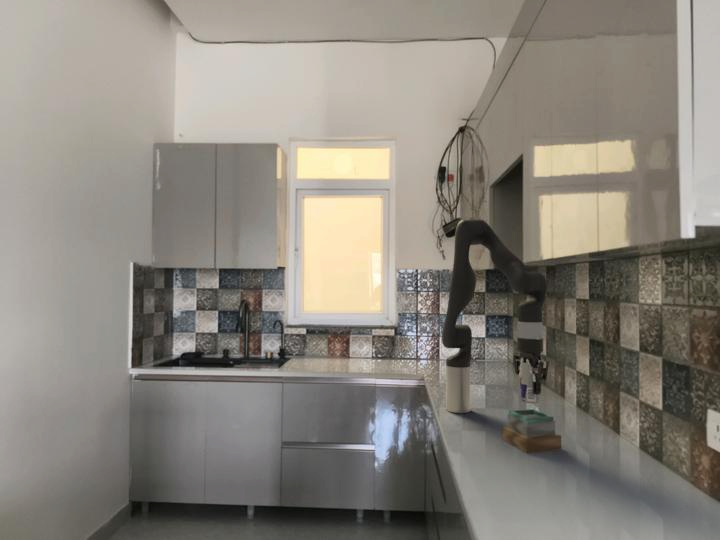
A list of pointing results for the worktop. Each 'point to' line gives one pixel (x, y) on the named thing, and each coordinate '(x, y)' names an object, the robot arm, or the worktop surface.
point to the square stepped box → (531, 431)
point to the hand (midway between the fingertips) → (530, 391)
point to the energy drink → (528, 385)
